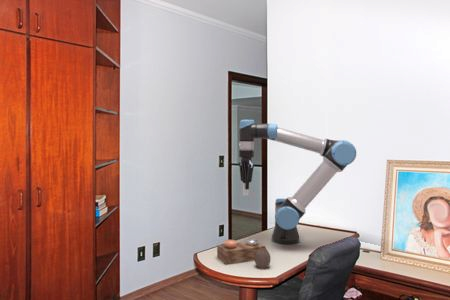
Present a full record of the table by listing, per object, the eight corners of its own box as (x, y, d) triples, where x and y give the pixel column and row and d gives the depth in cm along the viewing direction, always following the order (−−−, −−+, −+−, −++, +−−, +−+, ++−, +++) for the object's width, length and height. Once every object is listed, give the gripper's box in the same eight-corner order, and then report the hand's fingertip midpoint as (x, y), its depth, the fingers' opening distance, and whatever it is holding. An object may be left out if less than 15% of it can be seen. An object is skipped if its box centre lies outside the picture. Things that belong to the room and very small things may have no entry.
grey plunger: (253, 251, 175) (254, 237, 175) (259, 254, 170) (259, 241, 170) (243, 252, 173) (243, 239, 173) (249, 256, 168) (249, 242, 168)
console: (254, 252, 178) (254, 240, 178) (265, 258, 169) (265, 246, 169) (217, 257, 170) (217, 245, 170) (226, 264, 161) (226, 251, 161)
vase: (271, 269, 156) (272, 249, 156) (256, 269, 155) (256, 249, 155) (268, 263, 163) (269, 244, 162) (253, 264, 162) (253, 244, 162)
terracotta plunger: (233, 252, 171) (233, 239, 171) (238, 256, 166) (238, 242, 165) (222, 254, 169) (222, 240, 168) (227, 258, 163) (227, 243, 163)
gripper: (234, 149, 192) (233, 193, 193) (245, 150, 180) (245, 197, 181) (247, 149, 195) (246, 192, 196) (259, 150, 183) (258, 196, 184)
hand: (245, 195), depth 188 cm, fingers closed
